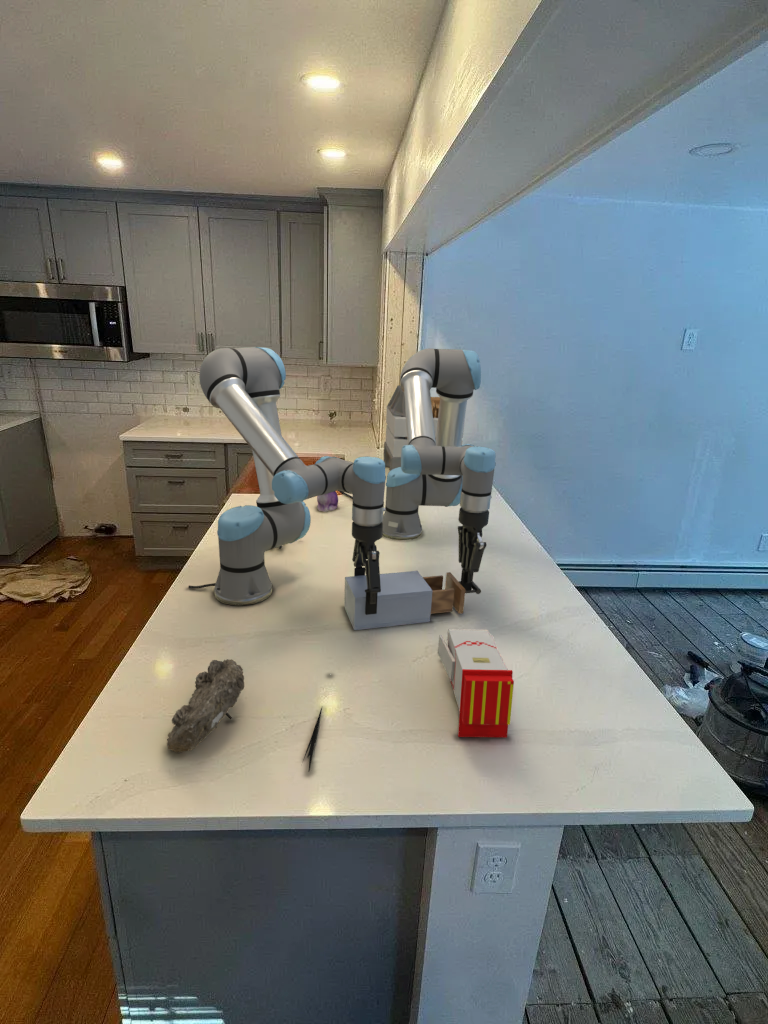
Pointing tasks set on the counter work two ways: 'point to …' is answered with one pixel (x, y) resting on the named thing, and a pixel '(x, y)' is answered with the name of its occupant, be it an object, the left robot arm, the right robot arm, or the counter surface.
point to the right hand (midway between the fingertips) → (465, 591)
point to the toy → (478, 682)
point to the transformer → (401, 427)
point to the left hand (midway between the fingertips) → (364, 601)
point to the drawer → (448, 593)
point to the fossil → (206, 705)
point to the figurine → (327, 501)
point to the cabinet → (389, 600)
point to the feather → (313, 740)
